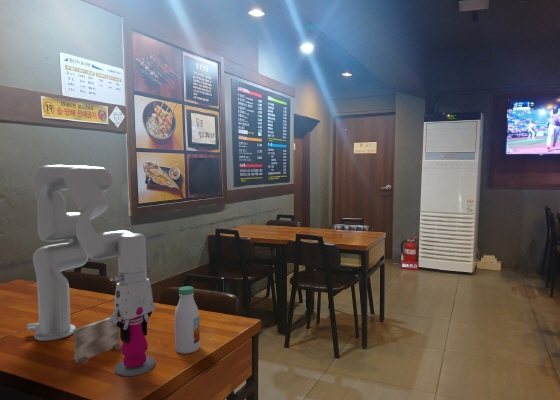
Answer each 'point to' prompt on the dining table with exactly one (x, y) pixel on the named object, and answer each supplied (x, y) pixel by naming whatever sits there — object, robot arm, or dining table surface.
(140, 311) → the pepper mill
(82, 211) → the robot arm
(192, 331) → the milk bottle
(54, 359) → the dining table surface
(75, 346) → the screen
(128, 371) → the coaster
